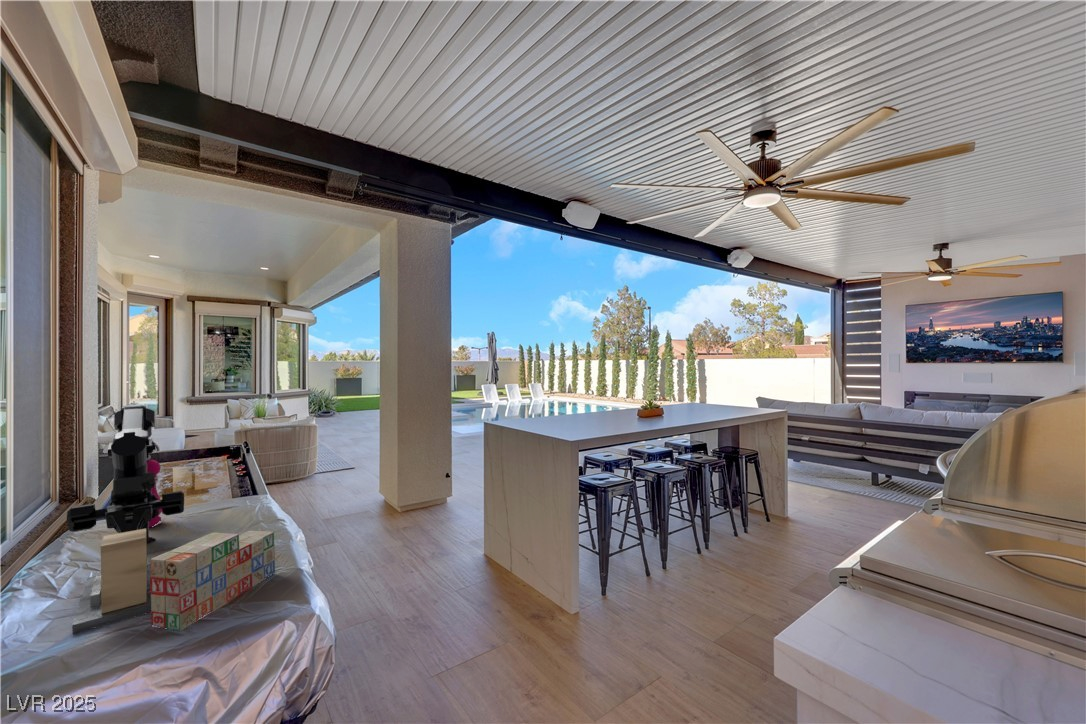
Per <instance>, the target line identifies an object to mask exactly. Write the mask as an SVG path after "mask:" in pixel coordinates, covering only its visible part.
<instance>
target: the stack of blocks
mask: <svg viewBox="0 0 1086 724" xmlns="http://www.w3.org/2000/svg"><path fill="white" fill-rule="evenodd" d="M275 549H276V548H275V532H273V531H264V530H263V531H262V530H261V531H260V530H248V531H245V532H243V533H242V534H239V533H225V532H224V533H223V532H211V533H209V534H208V533H207V534H205V535H203V536H202V537H201V536H200V537H199V538H196V539H194V540H192V541H190V542H187V543H186V544H183V545H181V546H179V547H176V548H174V549H172V550H169V551H166V552H164V553H162V554H159V555H156V556H154V557H152V558H151V559H150V561H149V562H150V563H149V564H151V577H150V593H151V610H152V611H151V612H150V618H151V620H150V621H151V623H150V624H151V625H154V626H157V627H160V628H167V629H166V630H168V629H173V630H172V631H175V630H178V631H177V632H181V630H182V631H184V630H185V629H186V628H185V627H187V626H188V627H190V626H191V624H192V623H193V624H195V623H196V622H198V621H197V620H198V619H199V618H201V617H203V616H204V615H206V614H208V613H210V612H212V611H214V610H215V611H217V610H219V609H221V608H222V607H224V606H225V605H226V604H227V603H230V601H233V600H234V599H235V598H237V597H239V596H240V595H243V594H244V593H246V592H248V591H249V590H250V589H252V588H254V587H256V586H258V583H259V584H260V583H262V582H263V580H264V579H265V578H267V577H268V576H270V575H271V574H273V573H276V570H275V569H276V565H275V564H276V562H275V561H276V560H275V559H276V550H275ZM270 577H271V576H270ZM267 579H268V578H267ZM265 580H266V579H265ZM265 580H264V581H265ZM261 581H262V582H261ZM216 609H217V610H216ZM215 611H214V612H215ZM212 613H213V612H212ZM210 614H211V613H210ZM195 621H196V622H195ZM194 622H195V623H194ZM193 624H192V625H193ZM151 625H150V626H151ZM189 625H190V626H189ZM188 627H187V628H188ZM184 628H185V629H184Z"/></svg>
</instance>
